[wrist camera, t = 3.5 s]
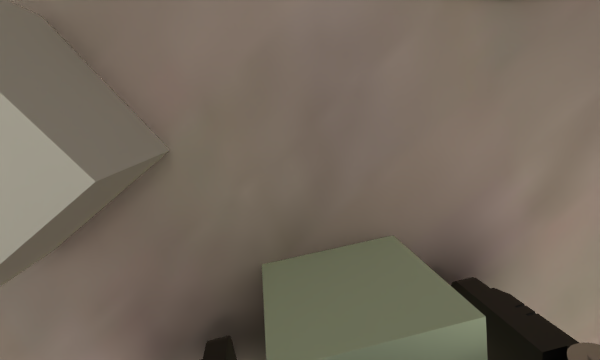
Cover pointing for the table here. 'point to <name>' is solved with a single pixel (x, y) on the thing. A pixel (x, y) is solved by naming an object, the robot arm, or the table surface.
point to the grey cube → (57, 141)
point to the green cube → (367, 308)
